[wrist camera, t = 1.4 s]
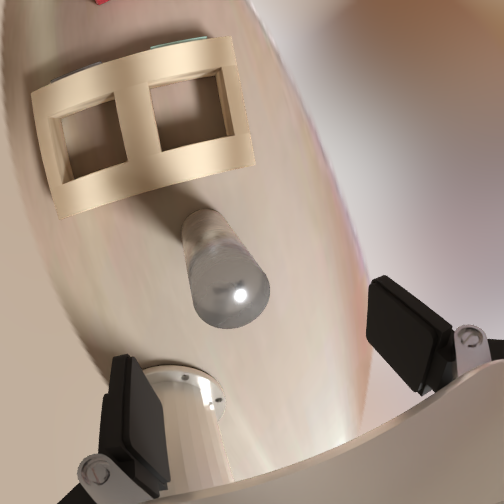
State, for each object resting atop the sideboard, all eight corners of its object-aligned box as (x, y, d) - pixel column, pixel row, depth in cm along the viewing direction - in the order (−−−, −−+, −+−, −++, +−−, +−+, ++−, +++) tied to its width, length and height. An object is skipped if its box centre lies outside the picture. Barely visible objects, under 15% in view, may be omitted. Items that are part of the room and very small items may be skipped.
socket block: (222, 44, 20) (230, 32, 17) (245, 161, 24) (255, 164, 21) (44, 94, 17) (30, 89, 14) (70, 210, 21) (59, 220, 18)
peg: (218, 260, 26) (252, 334, 16) (174, 246, 25) (182, 319, 15) (235, 217, 25) (282, 272, 15) (191, 202, 24) (208, 249, 14)
